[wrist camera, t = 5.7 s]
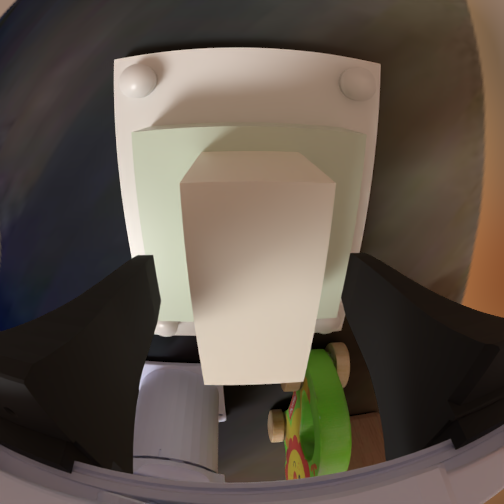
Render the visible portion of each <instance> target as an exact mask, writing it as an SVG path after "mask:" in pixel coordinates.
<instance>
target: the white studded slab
mask: <svg viewBox="0 0 504 504" xmlns="http://www.w3.org/2000/svg"><path fill="white" fill-rule="evenodd" d="M380 72H381V64H379V63H374V62H370V61H365V60H360V59H355V58H349V57H344V56H338V55H331V54H324V53H317V52H308V51H299V50H288V49H273V48H203V49H188V50H176V51H167V52H159V53H151V54H144V55H138V56H132V57H126V58H121V59H116V60H114V108H115V129H116V144H117V156H118V166H119V176H120V185H121V193H122V200H123V208H124V214H125V221H126V227H127V233H128V239H129V245H130V250H131V256H132V258H133V257H135V256H137V255H153V257H154V263H155V269H156V275H157V281H158V286H159V292H160V297H161V305H160V311H159V316H158V322H157V326H156V329H155V332H154V334H158V335H161V336H164V337H169V336H173V335H189V336H196V331H195V324H194V317H193V310H192V303H191V295H190V287H189V279H188V271H187V262H186V252H185V243H184V232H183V221H182V210H181V197H180V182H181V180H182V179H183V177H184V176H185V174H186V173H187V172H188V170H189V169H190V167H191V166H192V164H193V163H194V162H195V160H196V159H197V157H198V156H199V155H200V153H201V152H211V151H285V152H299V153H301V154H302V155H303V156H304V157H305V158H307V159H308V160H309V161H310V162H312V163H313V164H314V165H315V166H316V167H318V168H319V169H320V170H321V171H322V172H323V173H325V174H326V175H327V176H328V177H329V178H330V179H332V180H333V181H334V182H335V183H336V189H335V198H334V207H333V216H332V224H331V232H330V239H329V246H328V253H327V260H326V267H325V273H324V279H323V285H322V291H321V297H320V303H319V308H318V314H317V319H316V325H315V330H314V333H318V332H319V333H322V334H328V333H331V332H333V331H341V329H342V325H343V322H344V318H345V311H344V307H343V304H342V300H341V295H342V290H343V286H344V281H345V276H346V271H347V266H348V261H349V256H350V253H360V248H361V243H362V238H363V232H364V227H365V221H366V215H367V209H368V202H369V196H370V189H371V182H372V174H373V166H374V158H375V148H376V138H377V127H378V114H379V98H380Z"/></svg>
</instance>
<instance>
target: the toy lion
mask: <svg viewBox="0 0 504 504" xmlns="http://www.w3.org/2000/svg"><path fill="white" fill-rule="evenodd" d="M349 374H350V358H349V352H348V349H347V347H346V345H345V344H344V343H342V342H337V343H329V344H328V345H327V346H326V348H325V350H324V349H313V350H310V354H309V359H308V364H307V368H306V373H305V377H304V381H303V382H292V383H281V387H282V390H283V391H285V392H289V391H293V396H292V400H291V403H290V406H289V408H288V409H287V410H286V411H285V412H282V410H281V409H273V410H270V412H269V416H268V433H269V437H270V440H271V442H282V441H284V443H285V451H286V463H285V477H286V480H293V479H301V478H309V477H316V476H322V475H328V474H334V473H339V472H344V471H347V470H348V466H349V462H350V457H351V447H352V439H351V424H350V416H349V411H348V406H347V402H346V398H345V394H344V391H343V388H344V387H345V386H346V384H347V382H348V379H349Z"/></svg>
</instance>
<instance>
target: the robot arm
mask: <svg viewBox="0 0 504 504" xmlns="http://www.w3.org/2000/svg"><path fill="white" fill-rule="evenodd" d="M341 300H342V304H343V307H344V311H345V314H346V318H347V320H348V323H349V325H350V327H351V330H352V332H353V334H354V337H355V339H356V341H357V343H358V346H359V348H360V350H361V353H362V355H363V357H364V360H365V362H366V364H367V367H368V370H369V373H370V376H371V380H372V383H373V387H374V391H375V395H376V399H377V404H378V408H379V413H380V419H381V425H382V431H383V438H384V448H385V459H386V462H382V463H379V464H375V465H371V466H367V467H363V468H358V469H354V470H349V471H344V472H339V473H334V474H328V475H322V476H316V477H309V478H301V479H293V480H282V481H270V482H250V483H225V475H224V474H218V422H222V421H225V420H226V410H225V400H224V390H223V385H204V380H203V374H202V368H201V364H200V363H171V362H154V361H146V358H147V354H148V351H149V348H150V345H151V342H152V338H153V335H154V332H155V329H156V326H157V322H158V316H159V311H160V305H161V297H160V292H159V286H158V281H157V275H156V269H155V263H154V257H153V255H137V256H135V257H133V258H132V259H130V260H129V261H128V262H126V263H125V264H123V265H122V266H121V267H119V268H118V269H117V270H115V271H114V272H113V273H111V274H110V275H108V276H107V277H106V278H104V279H103V280H102V281H100V282H99V283H97V284H96V285H94V286H93V287H92V288H90V289H89V290H87V291H86V292H84V293H83V294H81V295H80V296H78V297H77V298H75V299H73V300H72V301H70V302H68V303H66V304H65V305H63V306H61V307H59V308H57V309H56V310H53V311H51V312H49V313H47V314H45V315H43V316H41V317H39V318H37V319H35V320H32V321H30V322H27V323H25V324H22V325H19V326H17V327H14V328H11V329H8V330H5V331H1V332H0V504H483V503H485V502H486V501H488V500H489V499H490V498H491V497H493V496H495V495H496V494H497V493H498V492H500V491H501V490H502V489H504V318H501V317H498V316H494V315H490V314H487V313H483V312H480V311H477V310H474V309H471V308H469V307H466V306H463V305H461V304H458V303H456V302H453V301H451V300H449V299H447V298H445V297H443V296H440V295H438V294H436V293H434V292H432V291H430V290H428V289H427V288H425V287H423V286H421V285H420V284H418V283H416V282H414V281H413V280H411V279H409V278H407V277H406V276H404V275H403V274H401V273H399V272H398V271H396V270H394V269H393V268H391V267H390V266H388V265H386V264H385V263H383V262H381V261H380V260H378V259H376V258H374V257H372V256H370V255H368V254H366V253H350V256H349V261H348V266H347V271H346V276H345V281H344V286H343V290H342V295H341ZM139 390H140V392H139ZM138 392H139V396H138ZM137 398H138V400H137Z"/></svg>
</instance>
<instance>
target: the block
mask: <svg viewBox="0 0 504 504" xmlns="http://www.w3.org/2000/svg"><path fill="white" fill-rule="evenodd" d="M350 424H351V439H352V447H351V457H350V462H349V466H348V470H347V471H349V470H354V469H358V468H363V467H367V466H371V465H375V464H379V463H382V462H386V459H385V448H384V438H383V431H382V425H381V419H380V414H379V413H375V412H374V413H368V414H362V415H356V416H350Z"/></svg>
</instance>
